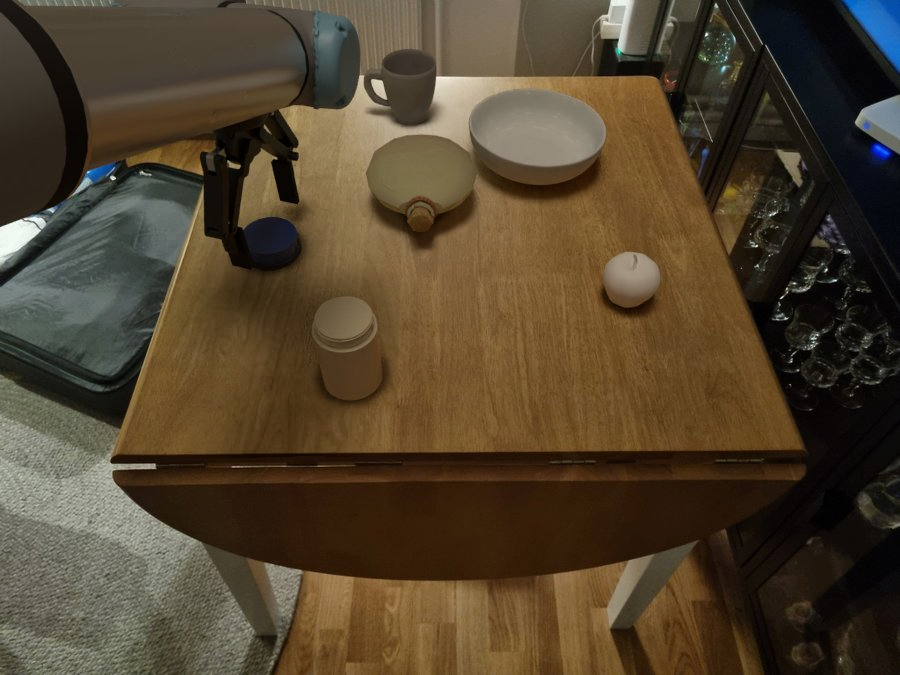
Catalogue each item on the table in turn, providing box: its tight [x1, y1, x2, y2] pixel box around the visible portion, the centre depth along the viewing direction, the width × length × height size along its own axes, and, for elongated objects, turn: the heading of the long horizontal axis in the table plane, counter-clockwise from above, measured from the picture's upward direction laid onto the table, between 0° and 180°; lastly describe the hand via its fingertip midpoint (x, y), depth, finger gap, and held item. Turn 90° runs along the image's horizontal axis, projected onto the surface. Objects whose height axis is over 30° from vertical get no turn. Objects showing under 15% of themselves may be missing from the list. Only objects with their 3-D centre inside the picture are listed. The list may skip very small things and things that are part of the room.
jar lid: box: [243, 216, 300, 265], centre depth 88 cm, size 8×8×2 cm
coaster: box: [253, 235, 302, 271], centre depth 89 cm, size 8×8×1 cm
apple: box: [602, 251, 661, 309], centre depth 82 cm, size 7×7×8 cm
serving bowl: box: [468, 87, 608, 186], centre depth 101 cm, size 21×21×7 cm
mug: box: [363, 48, 437, 126], centre depth 107 cm, size 12×9×10 cm
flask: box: [365, 134, 478, 233], centre depth 92 cm, size 9×16×18 cm
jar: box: [311, 295, 384, 401], centre depth 72 cm, size 7×7×11 cm
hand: (267, 232), depth 87 cm, fingers open, 13 cm apart
